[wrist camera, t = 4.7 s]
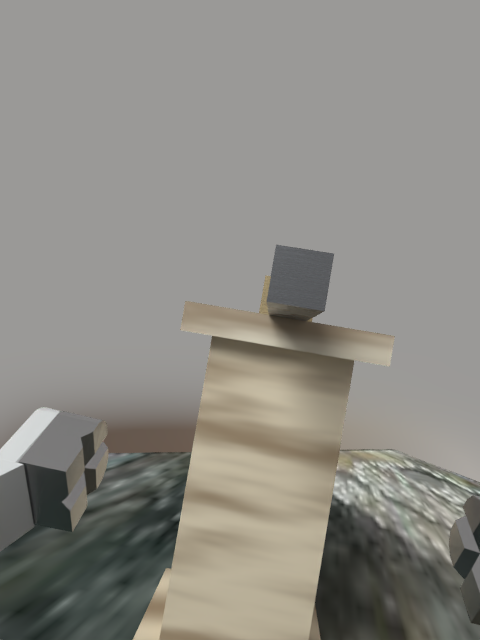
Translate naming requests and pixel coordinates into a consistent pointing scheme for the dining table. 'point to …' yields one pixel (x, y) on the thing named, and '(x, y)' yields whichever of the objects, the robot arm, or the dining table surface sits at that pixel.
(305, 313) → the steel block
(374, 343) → the shelf stand
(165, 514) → the dining table surface
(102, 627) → the dining table surface
